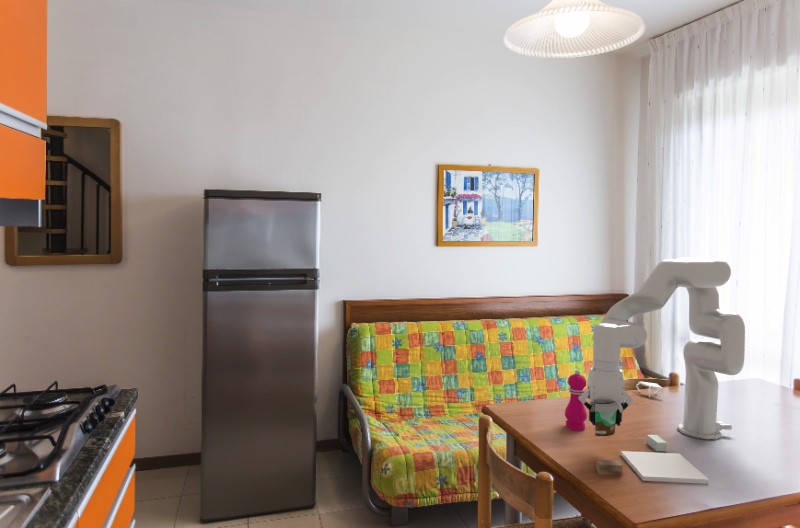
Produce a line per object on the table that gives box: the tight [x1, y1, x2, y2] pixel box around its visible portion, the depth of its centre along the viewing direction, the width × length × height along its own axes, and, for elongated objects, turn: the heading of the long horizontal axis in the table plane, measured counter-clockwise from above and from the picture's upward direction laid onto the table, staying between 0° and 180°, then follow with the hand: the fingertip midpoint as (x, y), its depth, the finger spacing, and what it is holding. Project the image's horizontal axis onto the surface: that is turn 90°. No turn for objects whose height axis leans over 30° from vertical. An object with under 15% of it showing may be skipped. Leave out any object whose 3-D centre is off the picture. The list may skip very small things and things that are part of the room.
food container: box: [594, 402, 619, 437], centre depth 151 cm, size 12×6×10 cm, turn 153°
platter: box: [620, 450, 710, 485], centre depth 142 cm, size 17×16×1 cm
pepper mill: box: [564, 369, 588, 432], centre depth 171 cm, size 7×7×20 cm
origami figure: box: [635, 381, 664, 400], centre depth 210 cm, size 12×8×5 cm
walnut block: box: [595, 459, 623, 477], centre depth 139 cm, size 6×3×3 cm, turn 87°
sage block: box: [646, 434, 668, 452], centre depth 157 cm, size 6×3×3 cm, turn 2°
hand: (605, 423), depth 151 cm, fingers closed on food container, 6 cm apart
